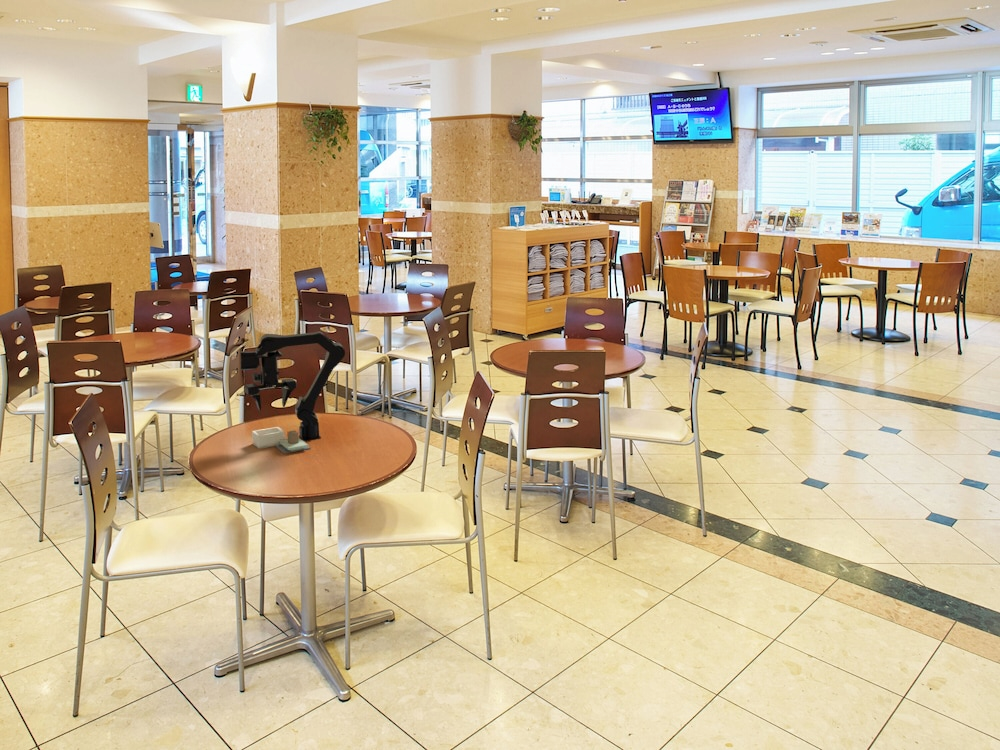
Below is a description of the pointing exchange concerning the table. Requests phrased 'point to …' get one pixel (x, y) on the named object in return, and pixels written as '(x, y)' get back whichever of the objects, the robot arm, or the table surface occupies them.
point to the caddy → (267, 437)
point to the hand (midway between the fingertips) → (271, 408)
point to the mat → (289, 450)
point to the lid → (293, 441)
